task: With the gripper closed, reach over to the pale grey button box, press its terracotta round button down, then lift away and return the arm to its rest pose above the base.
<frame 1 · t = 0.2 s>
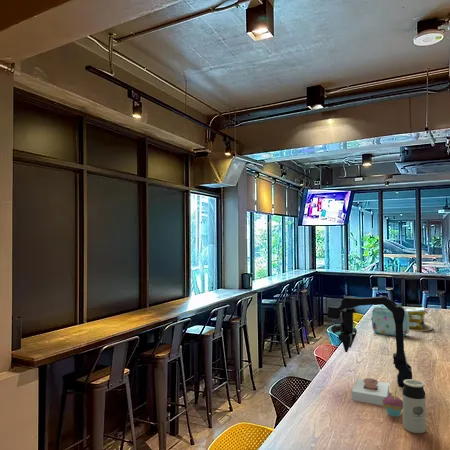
hand: (348, 349, 209), 14 cm above the table, tool pointing down, fingers open, 9 cm apart
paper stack: (415, 328, 318), on the table
travel mug: (414, 429, 153), on the table
lunch box: (389, 334, 298), on the table
cupcake: (393, 414, 166), on the table
button: (370, 384, 185), point 5 cm above the table, slide at 0.0 cm
button box: (370, 395, 185), on the table
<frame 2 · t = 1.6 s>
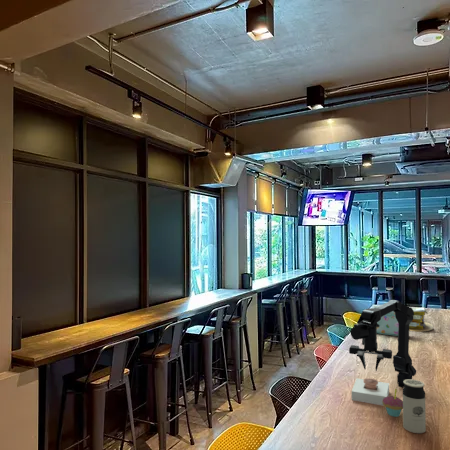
hand: (370, 370, 185), 12 cm above the table, tool pointing down, fingers open, 5 cm apart
nothing on the table moved.
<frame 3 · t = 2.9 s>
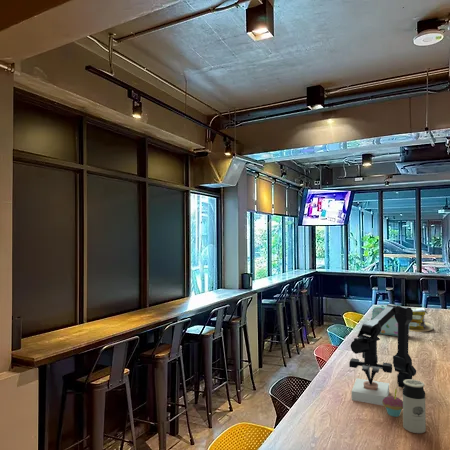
hand: (370, 383, 185), 6 cm above the table, tool pointing down, fingers closed, pressing on button
button: (370, 387, 185), point 4 cm above the table, slide at 1.4 cm, touching gripper
everything else where it was.
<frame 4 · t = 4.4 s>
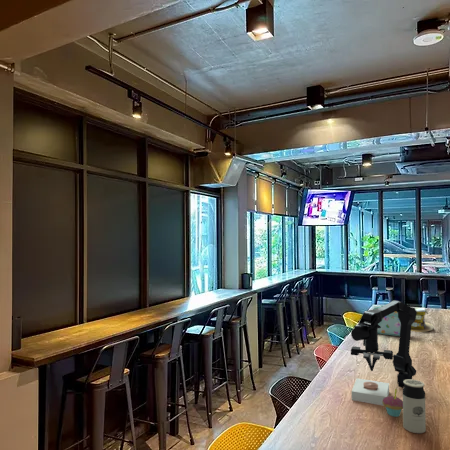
hand: (371, 370, 187), 11 cm above the table, tool pointing down, fingers closed
button: (370, 388, 185), point 3 cm above the table, slide at 1.7 cm
everything else where it was.
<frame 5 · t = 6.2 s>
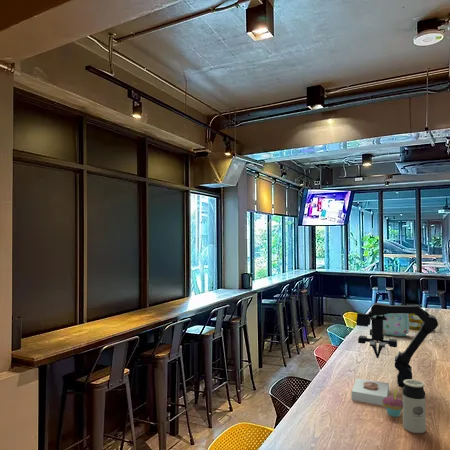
hand: (377, 357, 203), 12 cm above the table, tool pointing down, fingers closed
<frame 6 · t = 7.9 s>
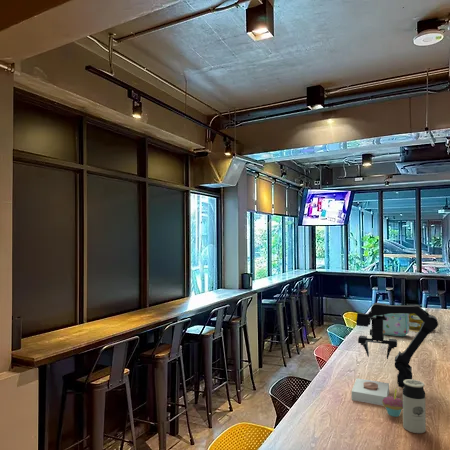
hand: (377, 357, 203), 12 cm above the table, tool pointing down, fingers open, 9 cm apart
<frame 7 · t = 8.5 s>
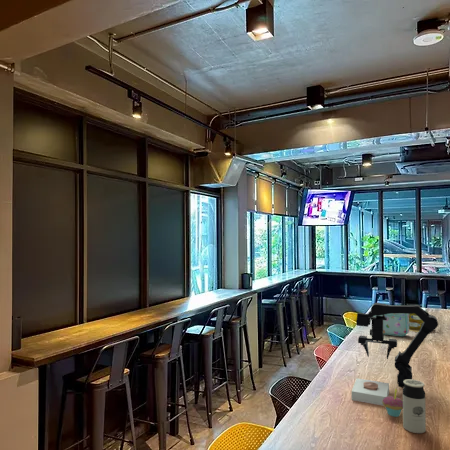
hand: (377, 357, 203), 12 cm above the table, tool pointing down, fingers open, 9 cm apart
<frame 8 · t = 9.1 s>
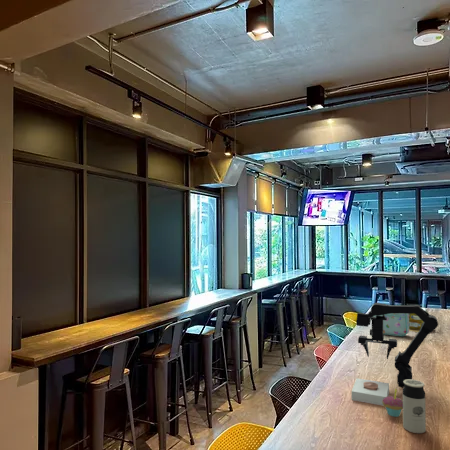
hand: (377, 357, 203), 12 cm above the table, tool pointing down, fingers open, 9 cm apart
at the end: button slide at 1.7 cm; cupcake moved 0.2 cm from its start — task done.
